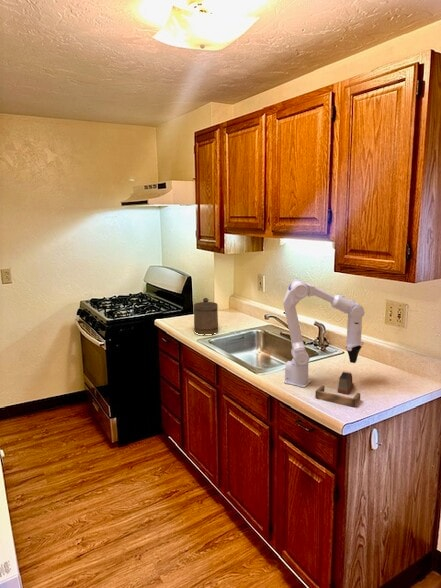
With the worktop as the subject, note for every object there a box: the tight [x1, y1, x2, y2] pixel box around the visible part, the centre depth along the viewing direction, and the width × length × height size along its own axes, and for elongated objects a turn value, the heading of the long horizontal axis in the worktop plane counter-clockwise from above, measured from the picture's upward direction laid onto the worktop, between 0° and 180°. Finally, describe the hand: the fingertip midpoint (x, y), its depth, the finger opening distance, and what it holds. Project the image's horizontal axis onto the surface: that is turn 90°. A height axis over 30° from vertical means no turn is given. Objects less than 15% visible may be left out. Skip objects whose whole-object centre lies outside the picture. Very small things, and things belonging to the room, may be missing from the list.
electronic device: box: [337, 370, 355, 395], centre depth 167 cm, size 4×10×8 cm, turn 148°
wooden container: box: [193, 297, 219, 334], centre depth 252 cm, size 15×15×22 cm
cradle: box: [314, 384, 361, 408], centre depth 159 cm, size 15×7×3 cm, turn 56°
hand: (353, 362), depth 173 cm, fingers closed
